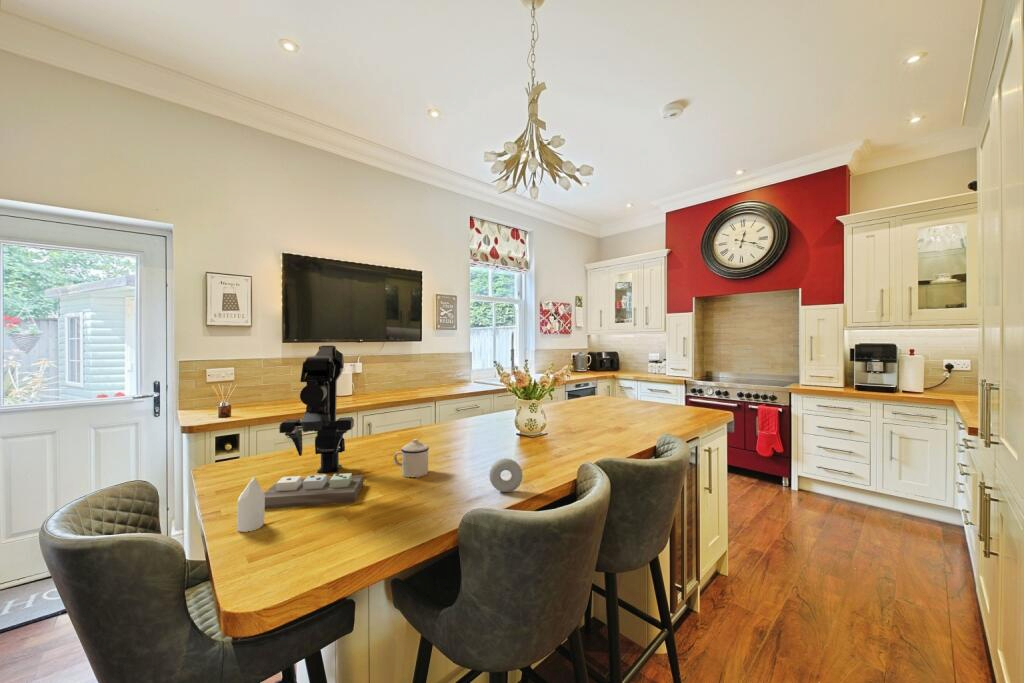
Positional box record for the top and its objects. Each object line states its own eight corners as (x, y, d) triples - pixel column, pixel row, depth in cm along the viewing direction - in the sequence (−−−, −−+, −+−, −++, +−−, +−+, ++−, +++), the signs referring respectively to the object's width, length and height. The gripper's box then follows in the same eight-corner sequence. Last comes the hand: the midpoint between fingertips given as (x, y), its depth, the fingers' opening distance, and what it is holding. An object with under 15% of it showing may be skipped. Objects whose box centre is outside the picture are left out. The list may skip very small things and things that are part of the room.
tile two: (308, 485, 116) (308, 475, 116) (326, 484, 117) (326, 474, 117) (303, 492, 111) (303, 480, 111) (322, 490, 112) (322, 479, 112)
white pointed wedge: (234, 476, 96) (261, 471, 100) (234, 526, 96) (261, 519, 100) (240, 483, 91) (267, 477, 95) (239, 534, 91) (267, 527, 95)
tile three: (334, 484, 118) (334, 473, 118) (351, 483, 119) (351, 472, 119) (329, 490, 113) (329, 479, 113) (348, 489, 114) (348, 478, 114)
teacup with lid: (432, 469, 138) (432, 436, 138) (423, 479, 129) (423, 443, 129) (399, 468, 139) (399, 435, 139) (388, 477, 130) (388, 442, 130)
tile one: (282, 487, 115) (282, 476, 115) (301, 486, 116) (301, 475, 116) (275, 493, 110) (275, 482, 110) (295, 492, 111) (295, 481, 111)
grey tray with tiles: (279, 489, 119) (279, 479, 119) (363, 484, 123) (363, 474, 123) (258, 509, 105) (258, 497, 105) (354, 502, 110) (354, 491, 110)
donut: (488, 494, 116) (488, 460, 116) (489, 489, 120) (489, 456, 120) (522, 494, 116) (522, 460, 116) (522, 490, 120) (522, 457, 120)
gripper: (272, 406, 104) (271, 465, 104) (347, 404, 108) (347, 460, 108) (286, 400, 115) (286, 453, 115) (354, 398, 119) (354, 449, 119)
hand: (318, 454), depth 114 cm, fingers open, 9 cm apart
